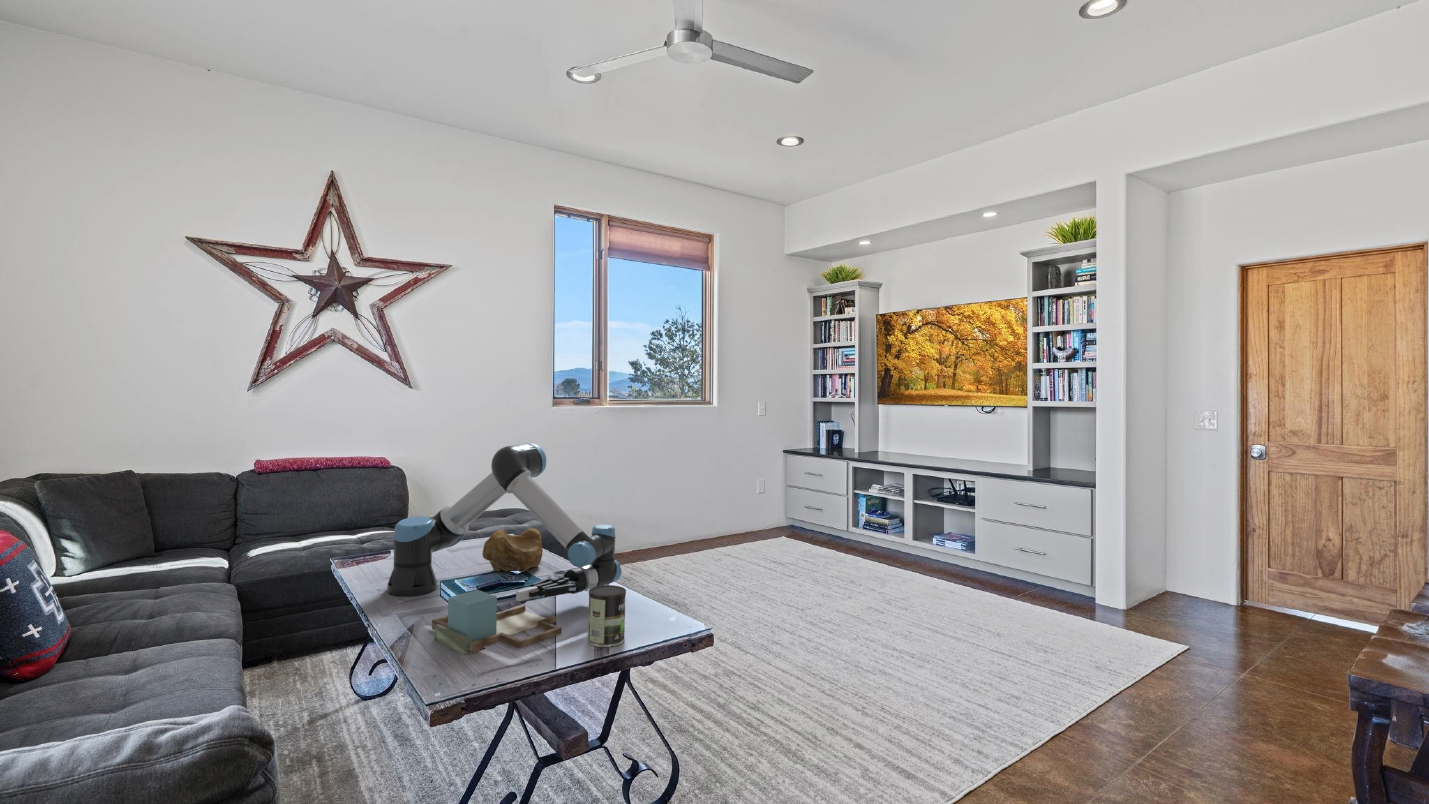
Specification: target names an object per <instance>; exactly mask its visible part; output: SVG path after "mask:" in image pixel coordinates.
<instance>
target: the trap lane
mask: <svg viewBox="0 0 1429 804" xmlns="http://www.w3.org/2000/svg"><path fill="white" fill-rule="evenodd" d="M554 623H557V616H555V615H551V616H549V617H544V616H541V615H538V614H536V613H533V612H530V611H526V605H523V604H522V605H518V606H515V607H512V608H509V609H505V610H502V611H499V612H497V625H496V634H495V635H492V636H489V637H486V638H483V639H480V640H476V641H473V642H472V638H470V637H468V636H465V635H463V634H461V633H458V632H456V631H454V630H451V629H449V628H448V615H446V616H442V617H438V618H435V619H431V629H432V630H433V631H434V638H433V639H434V641H436V642H438V643H440V644H443V645H445V646H447V647H449V648H452V649H453V650H456V651H458V652H460V653H462V654H464V655H466V656H468V655H471V654H474V653H477V652H481V651H483V650H486V649H487V648H485V646H488V645H491V644H494V643H498V642H499V641H500V642H503V643H506V644H508V645H511V646H513V647H515V648H518V649H520V648H523V647H526V646H528V645H531V644H535V643H537V642H540V641H543V640H546V639H549V638H552V637H555V636H558V635H561V634H562V631H563V628H562V627H561V626H558V625H555V624H554ZM536 627H538V628H540V629H543V630H545V631H542V632H539V633H537V634H533V635H530V636H527V637H525V638H521V639H519V638H516V637H514V636H513V635H514V634H518V633H522V632H524V631H527V630H530V629H533V628H536Z"/></svg>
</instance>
